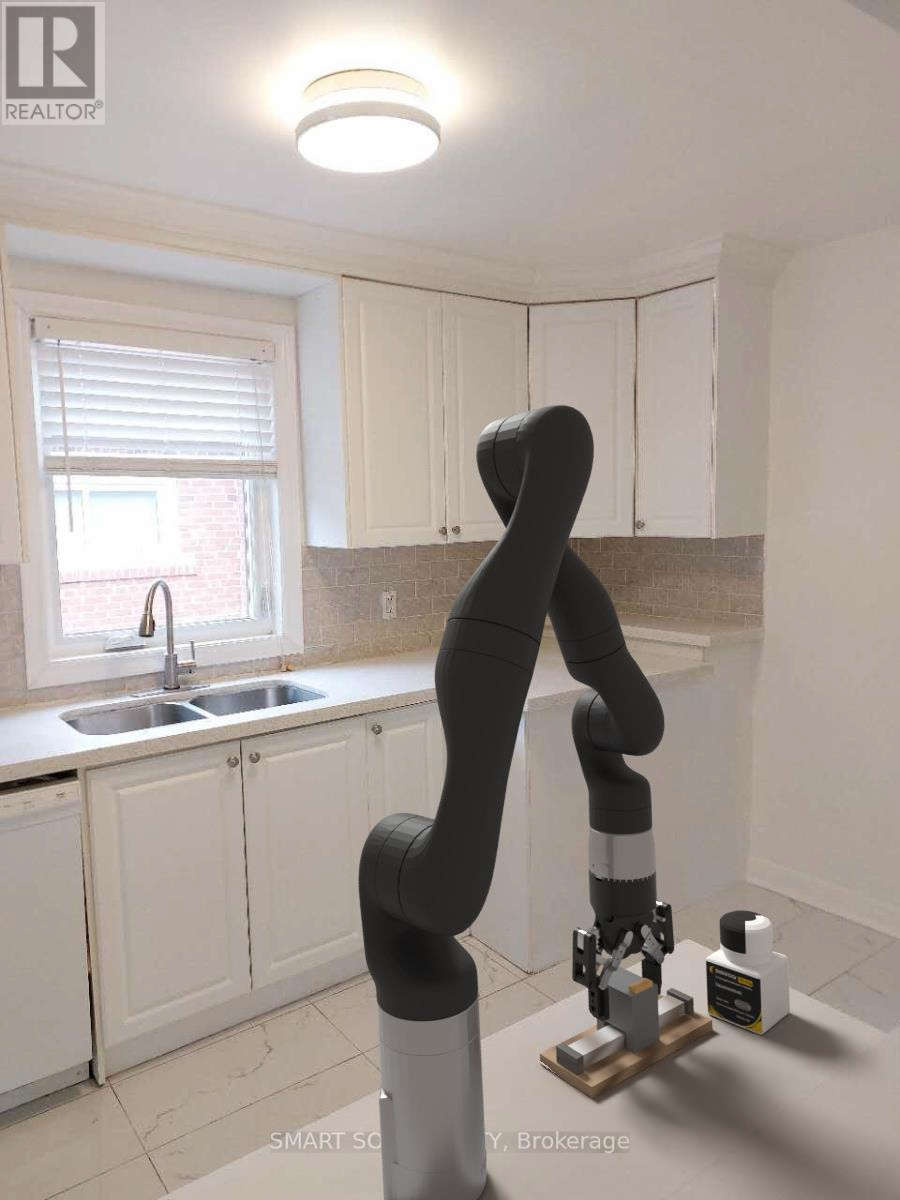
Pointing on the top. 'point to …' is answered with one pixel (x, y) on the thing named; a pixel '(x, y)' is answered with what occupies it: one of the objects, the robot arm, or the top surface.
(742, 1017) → the medicine bottle
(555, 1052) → the rail board
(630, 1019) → the block
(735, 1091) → the top surface
